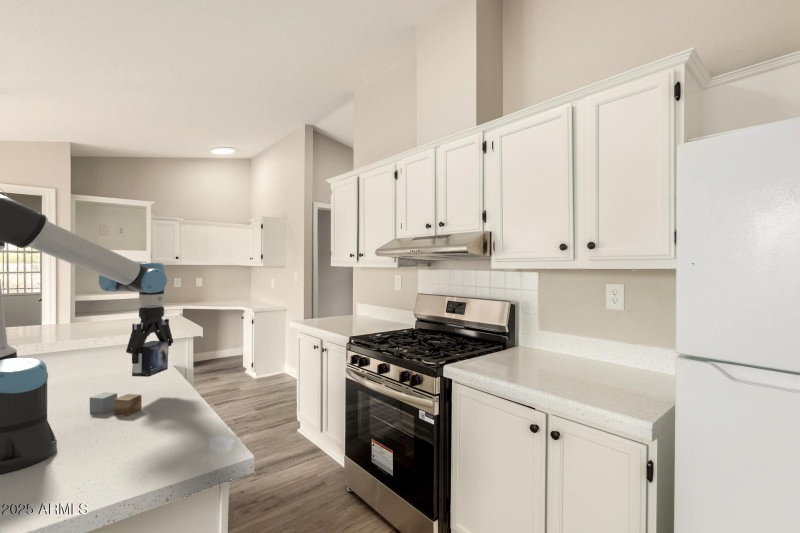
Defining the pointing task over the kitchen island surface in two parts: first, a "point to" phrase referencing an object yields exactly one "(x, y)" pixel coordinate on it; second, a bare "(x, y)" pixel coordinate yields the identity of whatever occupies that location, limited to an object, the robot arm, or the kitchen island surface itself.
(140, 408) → the walnut block
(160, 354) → the small box
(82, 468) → the kitchen island surface
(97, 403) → the slate-grey block
